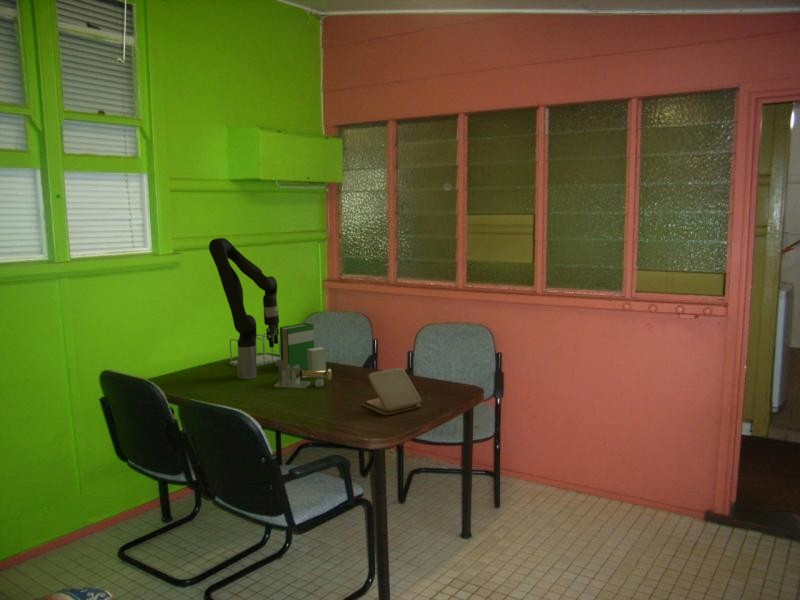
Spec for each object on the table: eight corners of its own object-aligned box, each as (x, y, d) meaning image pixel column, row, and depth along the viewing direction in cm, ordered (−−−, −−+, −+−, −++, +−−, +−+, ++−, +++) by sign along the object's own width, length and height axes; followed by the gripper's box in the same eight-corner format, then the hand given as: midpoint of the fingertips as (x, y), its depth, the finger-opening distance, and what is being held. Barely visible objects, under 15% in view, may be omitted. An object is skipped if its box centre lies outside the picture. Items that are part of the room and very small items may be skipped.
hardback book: (289, 372, 355) (287, 328, 352) (281, 369, 360) (279, 327, 357) (314, 366, 368) (313, 324, 365) (306, 364, 373) (305, 322, 370)
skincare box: (322, 373, 351) (321, 346, 349) (326, 375, 346) (325, 348, 344) (307, 375, 347) (306, 348, 345) (312, 378, 342) (311, 350, 340)
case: (386, 417, 277) (385, 380, 275) (359, 405, 294) (359, 370, 292) (423, 408, 289) (423, 373, 287) (396, 397, 306) (396, 364, 304)
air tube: (291, 380, 326) (291, 369, 325) (294, 377, 331) (294, 366, 330) (329, 381, 323) (329, 370, 322) (331, 378, 329) (331, 367, 328)
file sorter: (265, 357, 393) (264, 331, 391) (283, 361, 381) (282, 335, 379) (229, 364, 375) (227, 338, 372) (246, 369, 363) (245, 342, 361)
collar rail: (274, 387, 326) (273, 363, 324) (280, 382, 335) (279, 359, 333) (320, 388, 323) (319, 364, 321) (324, 382, 332) (323, 360, 330)
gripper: (268, 313, 346) (270, 343, 348) (260, 317, 332) (263, 348, 334) (281, 312, 345) (284, 342, 347) (274, 317, 331) (277, 348, 333)
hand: (273, 345), depth 340 cm, fingers open, 8 cm apart
